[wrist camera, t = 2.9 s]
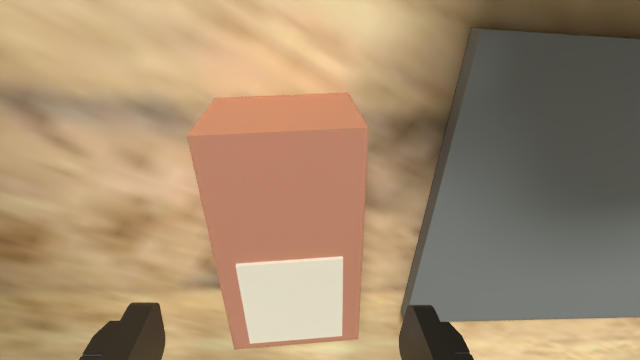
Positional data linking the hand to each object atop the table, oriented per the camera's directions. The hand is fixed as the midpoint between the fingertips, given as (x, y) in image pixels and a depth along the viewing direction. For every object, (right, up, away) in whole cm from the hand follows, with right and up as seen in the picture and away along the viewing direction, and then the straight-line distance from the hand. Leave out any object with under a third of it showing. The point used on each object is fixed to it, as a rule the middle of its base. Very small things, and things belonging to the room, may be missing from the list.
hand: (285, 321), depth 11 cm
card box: (0, +4, +6) cm, 7 cm away
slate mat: (+17, +3, +7) cm, 18 cm away
